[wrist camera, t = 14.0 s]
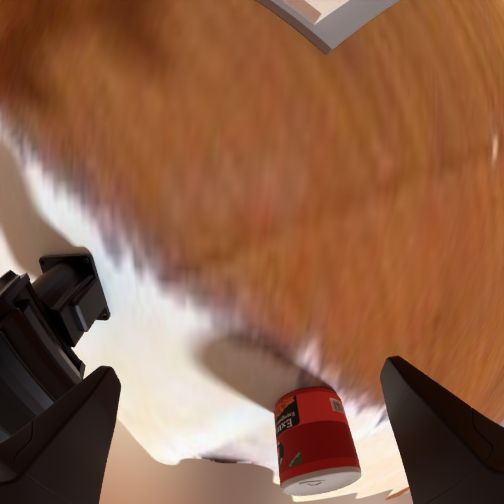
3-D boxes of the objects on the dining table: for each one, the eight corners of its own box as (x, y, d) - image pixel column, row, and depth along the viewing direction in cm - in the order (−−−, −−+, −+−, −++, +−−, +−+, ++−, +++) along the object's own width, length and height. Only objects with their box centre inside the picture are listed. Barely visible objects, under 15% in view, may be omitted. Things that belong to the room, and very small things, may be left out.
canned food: (278, 385, 26) (288, 478, 16) (348, 382, 27) (375, 465, 17) (269, 421, 29) (274, 498, 19) (330, 418, 30) (346, 489, 20)
